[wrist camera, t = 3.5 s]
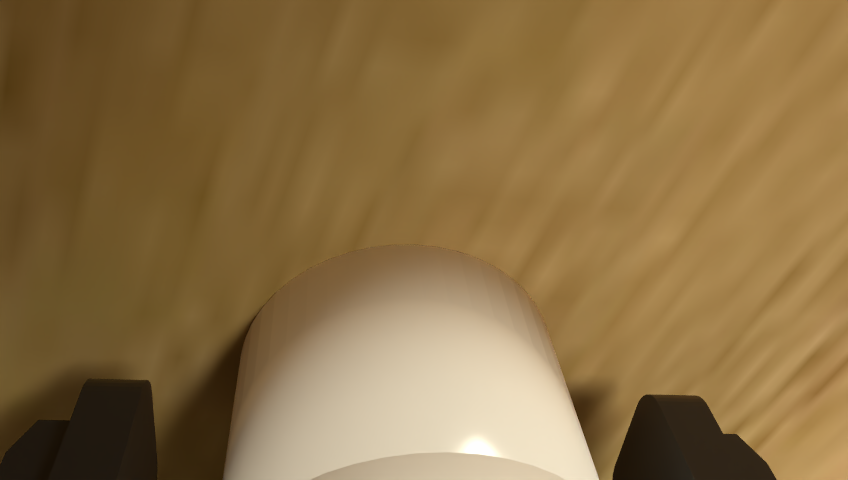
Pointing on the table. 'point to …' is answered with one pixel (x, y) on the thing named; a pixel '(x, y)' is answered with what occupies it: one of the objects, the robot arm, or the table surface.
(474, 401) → the cream capsule
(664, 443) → the robot arm
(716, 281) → the table surface
